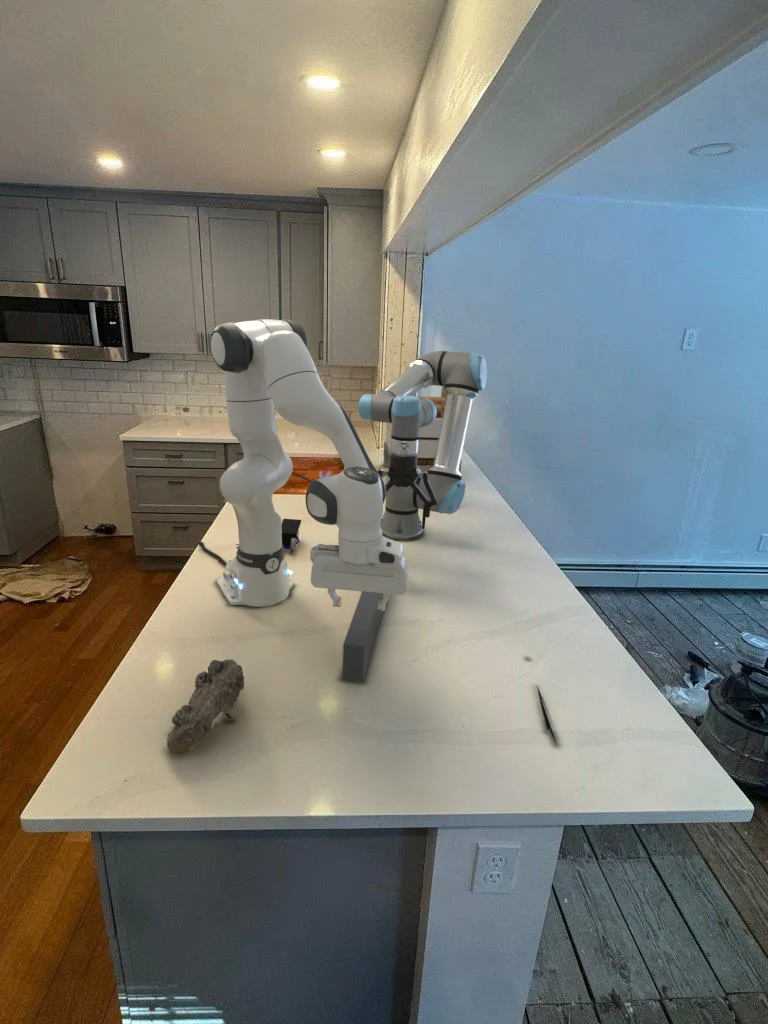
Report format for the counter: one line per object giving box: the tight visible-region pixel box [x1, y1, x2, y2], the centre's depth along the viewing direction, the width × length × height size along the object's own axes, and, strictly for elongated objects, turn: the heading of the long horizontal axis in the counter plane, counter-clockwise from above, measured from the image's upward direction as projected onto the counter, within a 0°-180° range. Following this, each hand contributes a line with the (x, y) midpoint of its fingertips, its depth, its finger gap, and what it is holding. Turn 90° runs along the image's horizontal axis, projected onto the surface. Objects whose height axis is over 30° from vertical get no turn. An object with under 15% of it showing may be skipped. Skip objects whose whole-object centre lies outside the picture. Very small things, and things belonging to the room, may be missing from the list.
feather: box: [527, 657, 557, 743], centre depth 118 cm, size 2×28×2 cm
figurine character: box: [281, 518, 302, 554], centre depth 184 cm, size 7×8×15 cm
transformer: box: [383, 386, 463, 475], centre depth 268 cm, size 34×33×41 cm
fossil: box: [166, 658, 245, 754], centre depth 106 cm, size 22×10×15 cm
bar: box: [342, 591, 384, 682], centre depth 145 cm, size 55×4×9 cm, turn 173°
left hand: (359, 607), depth 120 cm, fingers open, 8 cm apart
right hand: (399, 526), depth 162 cm, fingers open, 13 cm apart
